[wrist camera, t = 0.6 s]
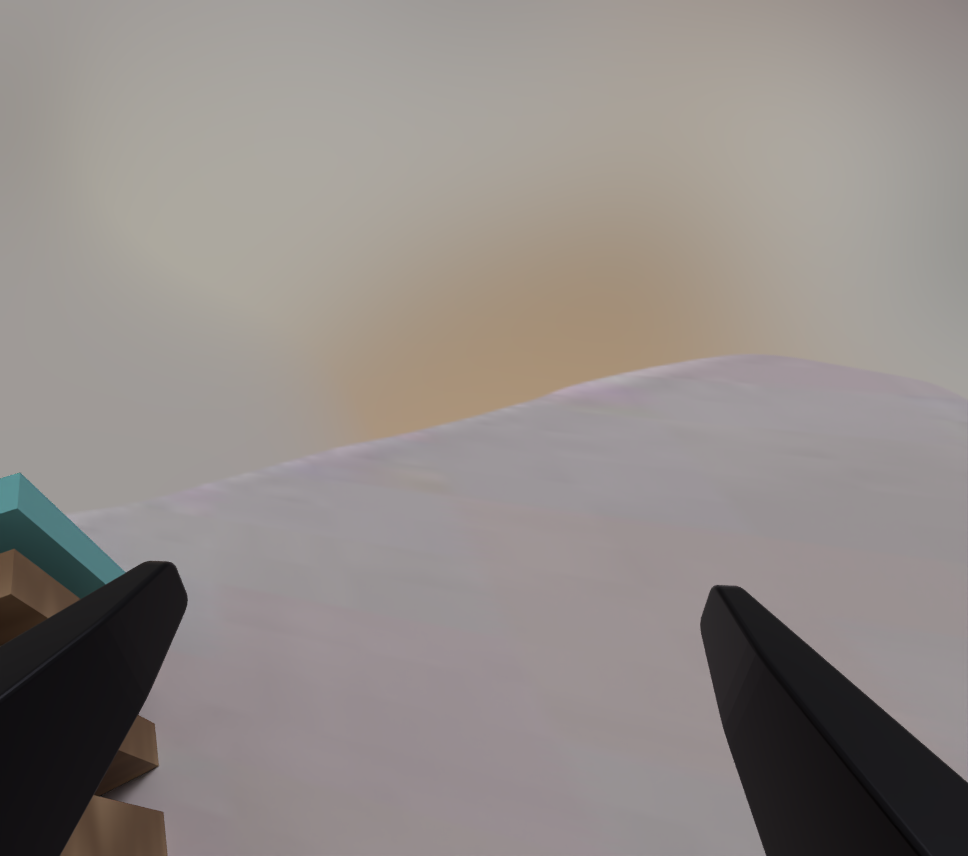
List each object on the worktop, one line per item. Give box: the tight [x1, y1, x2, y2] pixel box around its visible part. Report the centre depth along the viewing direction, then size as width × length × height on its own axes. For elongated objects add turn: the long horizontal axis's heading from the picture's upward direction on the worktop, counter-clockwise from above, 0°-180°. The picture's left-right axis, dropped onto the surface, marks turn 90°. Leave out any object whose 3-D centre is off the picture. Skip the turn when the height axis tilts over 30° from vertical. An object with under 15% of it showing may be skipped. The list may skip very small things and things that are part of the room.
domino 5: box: [0, 473, 126, 599], centre depth 19 cm, size 2×5×9 cm, turn 119°
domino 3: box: [94, 715, 159, 796], centre depth 15 cm, size 2×5×9 cm, turn 119°
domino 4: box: [0, 549, 80, 646], centre depth 17 cm, size 2×5×9 cm, turn 119°
